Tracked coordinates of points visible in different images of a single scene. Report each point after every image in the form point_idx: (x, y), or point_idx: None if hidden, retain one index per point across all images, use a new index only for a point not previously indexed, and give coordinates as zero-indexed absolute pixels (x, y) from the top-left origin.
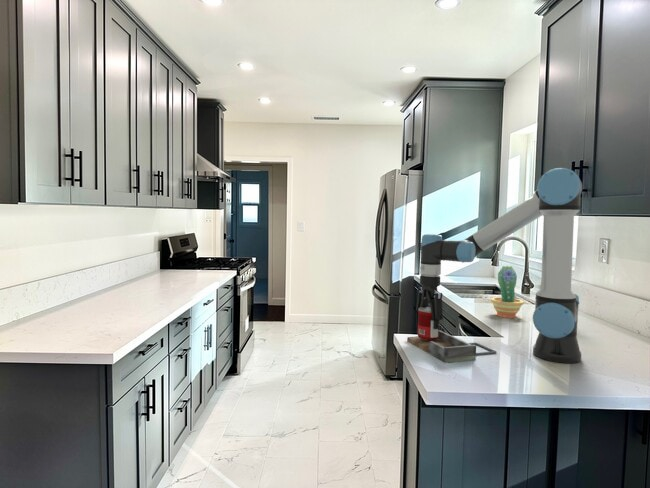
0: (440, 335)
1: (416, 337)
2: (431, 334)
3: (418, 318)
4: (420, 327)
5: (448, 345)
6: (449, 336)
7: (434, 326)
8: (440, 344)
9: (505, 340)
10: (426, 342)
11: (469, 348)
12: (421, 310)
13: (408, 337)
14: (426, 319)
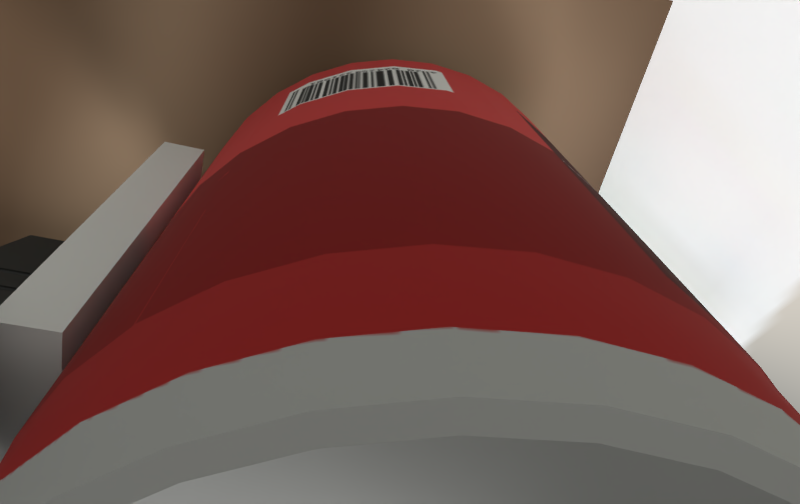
0: None
1: (565, 134)
2: (149, 160)
3: (567, 193)
4: (398, 94)
5: None
6: None
7: (18, 268)
8: (92, 202)
9: None
10: (265, 78)
11: None
12: (427, 374)
13: (645, 1)
14: (183, 245)
